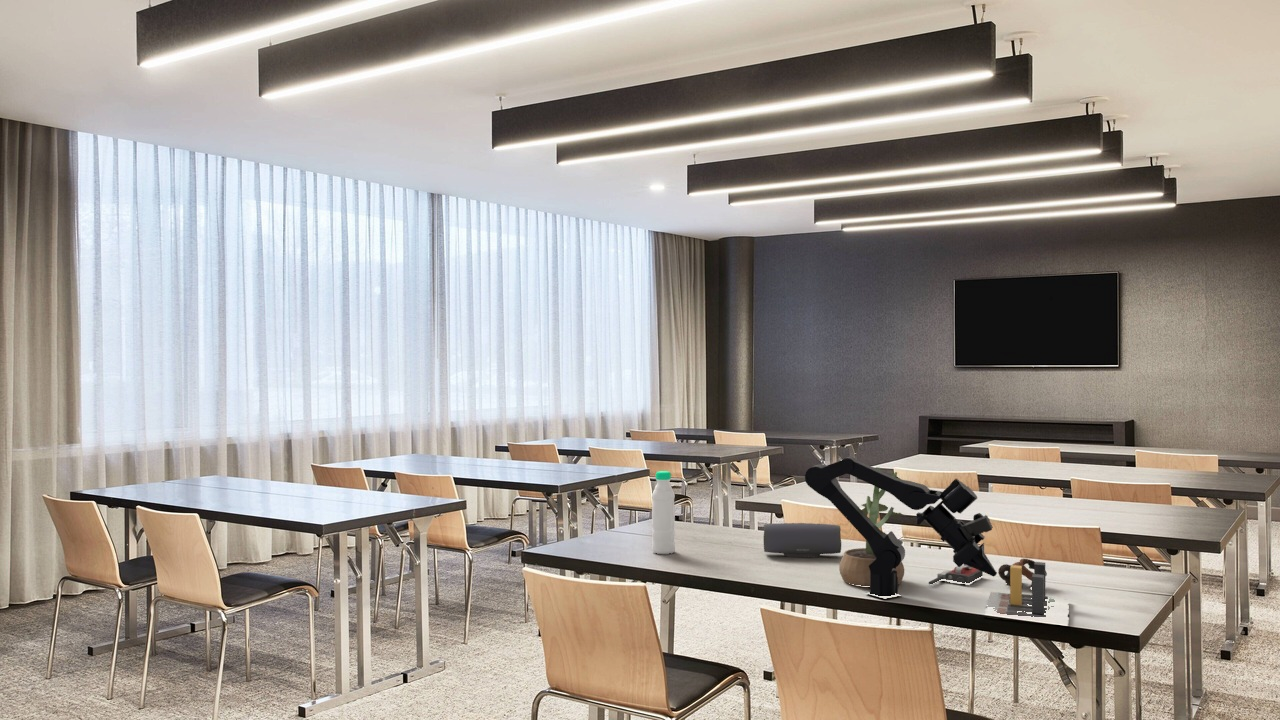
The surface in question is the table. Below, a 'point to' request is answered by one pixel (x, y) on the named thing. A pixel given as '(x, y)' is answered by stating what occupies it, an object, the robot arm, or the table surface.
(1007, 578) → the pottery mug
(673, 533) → the water bottle
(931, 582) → the walkie-talkie
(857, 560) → the potted plant
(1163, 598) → the table surface
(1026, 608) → the grey ribbed panel
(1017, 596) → the tan wooden tall block
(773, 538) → the bluetooth speaker
